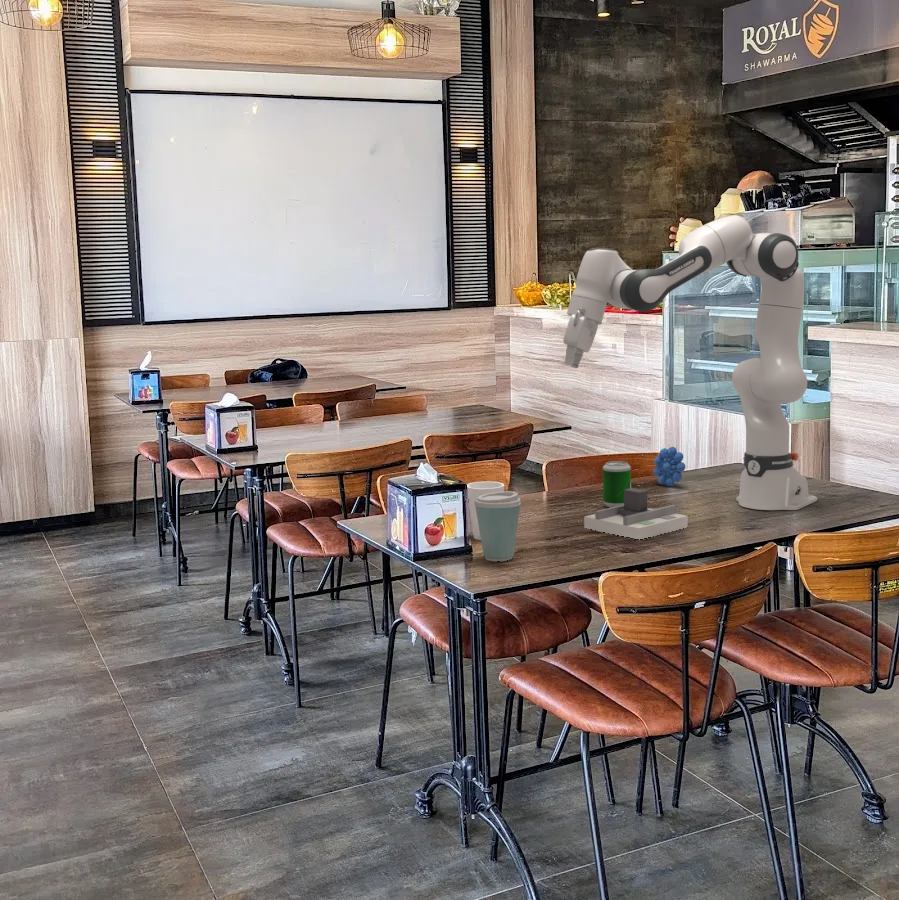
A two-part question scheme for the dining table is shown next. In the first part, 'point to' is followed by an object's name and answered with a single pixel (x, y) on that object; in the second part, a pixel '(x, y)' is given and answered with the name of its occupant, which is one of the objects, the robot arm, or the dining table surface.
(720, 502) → the dining table surface
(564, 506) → the dining table surface
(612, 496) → the soda can
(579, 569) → the dining table surface
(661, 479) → the grapes
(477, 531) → the foam cup
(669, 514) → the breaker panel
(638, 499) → the handle
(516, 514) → the disposable coffee cup
